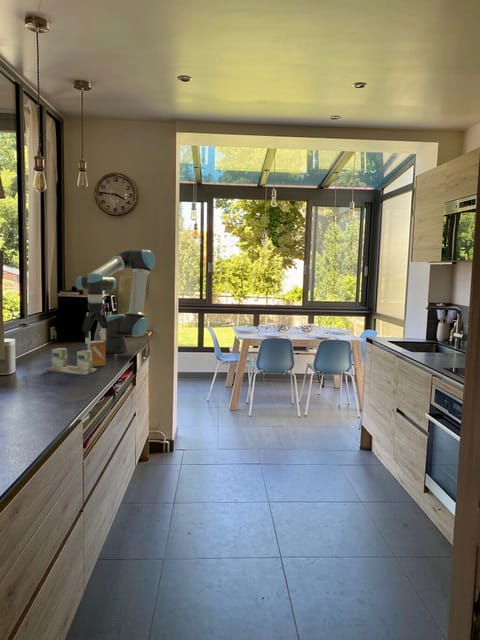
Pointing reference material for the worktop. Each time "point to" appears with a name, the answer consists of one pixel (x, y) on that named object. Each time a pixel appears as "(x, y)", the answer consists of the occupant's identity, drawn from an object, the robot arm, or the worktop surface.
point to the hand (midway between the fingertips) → (95, 341)
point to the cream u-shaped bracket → (82, 366)
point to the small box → (97, 353)
